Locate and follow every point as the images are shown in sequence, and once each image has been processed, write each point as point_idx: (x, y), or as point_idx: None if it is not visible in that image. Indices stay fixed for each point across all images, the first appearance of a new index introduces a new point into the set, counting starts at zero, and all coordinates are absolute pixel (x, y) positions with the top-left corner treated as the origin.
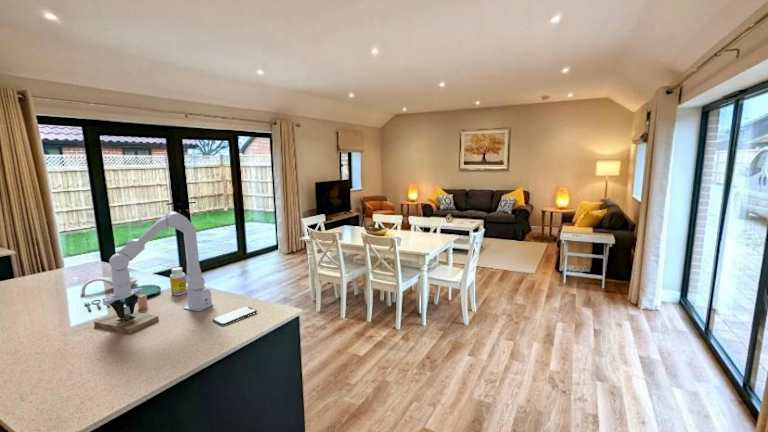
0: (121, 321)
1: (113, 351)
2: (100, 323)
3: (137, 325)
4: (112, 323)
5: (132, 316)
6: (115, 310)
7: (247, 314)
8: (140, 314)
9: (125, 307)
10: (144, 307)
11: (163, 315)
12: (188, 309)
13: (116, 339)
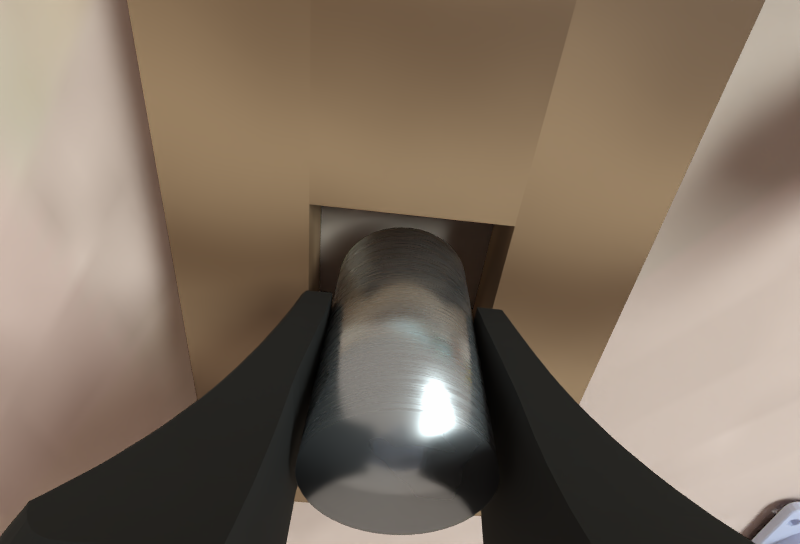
0: (342, 264)
1: (12, 520)
2: (134, 7)
3: (298, 499)
4: (220, 240)
5: (491, 306)
6: (234, 385)
7: None
8: (560, 355)
9: (347, 524)
10: None
11: (639, 441)
12: (754, 537)
13: (111, 427)
